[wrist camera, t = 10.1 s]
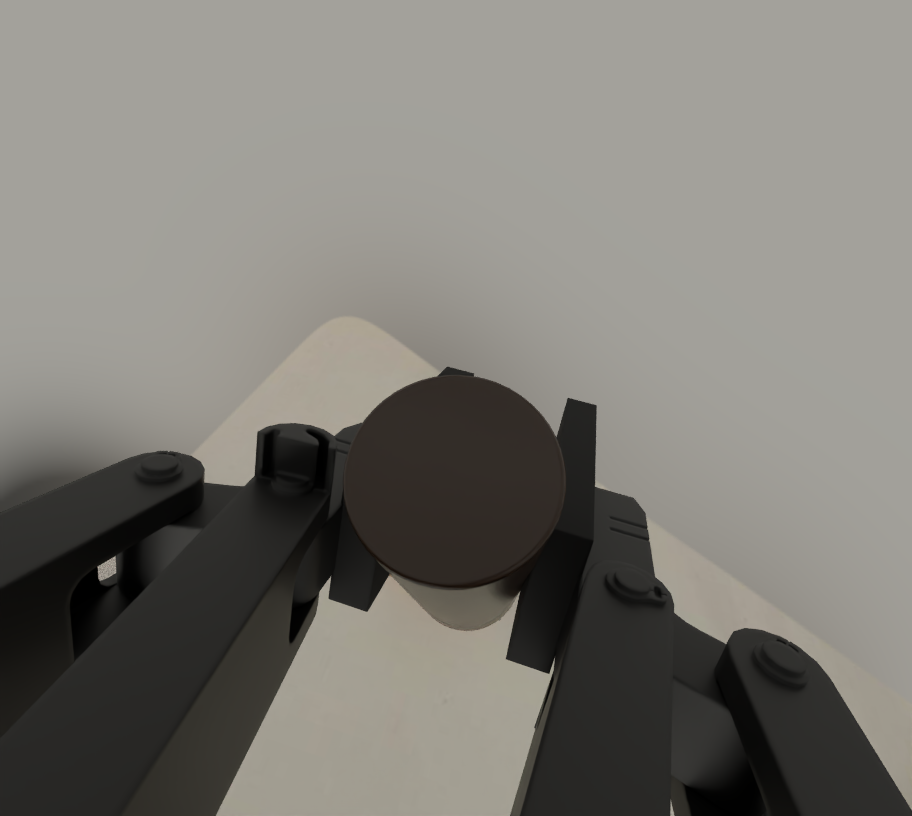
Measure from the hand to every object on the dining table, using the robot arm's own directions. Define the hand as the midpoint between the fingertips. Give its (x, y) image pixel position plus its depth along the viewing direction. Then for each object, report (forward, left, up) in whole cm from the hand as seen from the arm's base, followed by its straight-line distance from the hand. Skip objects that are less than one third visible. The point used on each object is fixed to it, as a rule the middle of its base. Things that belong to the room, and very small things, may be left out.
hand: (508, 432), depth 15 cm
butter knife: (0, +4, -8) cm, 9 cm away
